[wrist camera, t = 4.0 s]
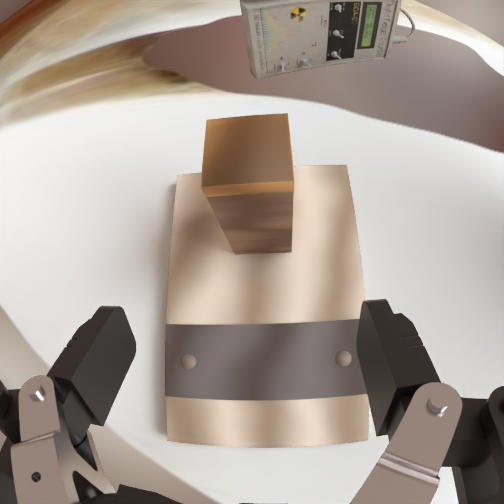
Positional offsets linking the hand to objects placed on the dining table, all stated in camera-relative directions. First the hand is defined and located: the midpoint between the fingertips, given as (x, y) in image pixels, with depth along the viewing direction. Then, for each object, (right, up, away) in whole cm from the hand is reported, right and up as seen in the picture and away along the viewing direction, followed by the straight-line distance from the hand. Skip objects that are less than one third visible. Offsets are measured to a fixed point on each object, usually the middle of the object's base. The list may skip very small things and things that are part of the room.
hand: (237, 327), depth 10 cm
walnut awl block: (+1, +4, +16) cm, 17 cm away
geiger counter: (+12, +29, +25) cm, 40 cm away
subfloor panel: (+2, -2, +16) cm, 16 cm away
